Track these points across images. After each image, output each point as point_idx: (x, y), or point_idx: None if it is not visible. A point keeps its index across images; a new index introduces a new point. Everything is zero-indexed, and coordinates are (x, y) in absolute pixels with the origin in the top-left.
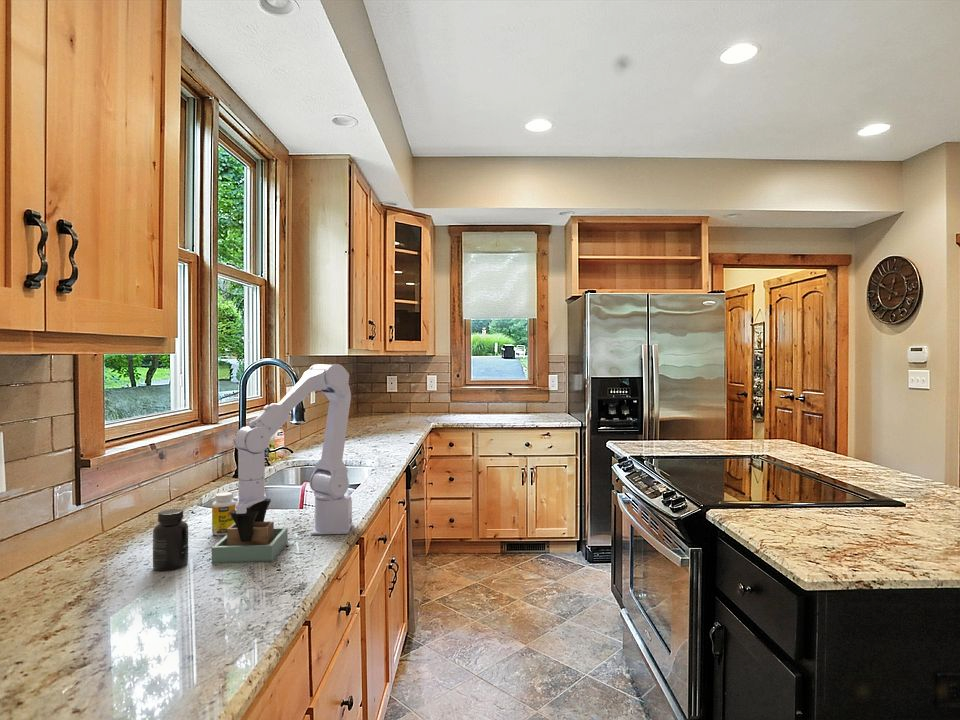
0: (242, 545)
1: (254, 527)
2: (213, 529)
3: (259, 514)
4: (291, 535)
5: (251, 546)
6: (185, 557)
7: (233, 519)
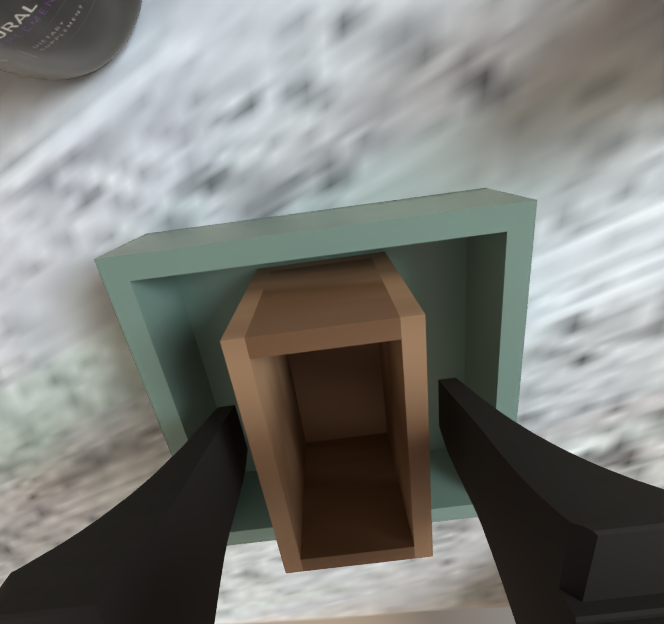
0: (181, 426)
1: (288, 507)
2: None
3: (491, 513)
4: (574, 432)
5: None
6: (17, 73)
7: (55, 550)
